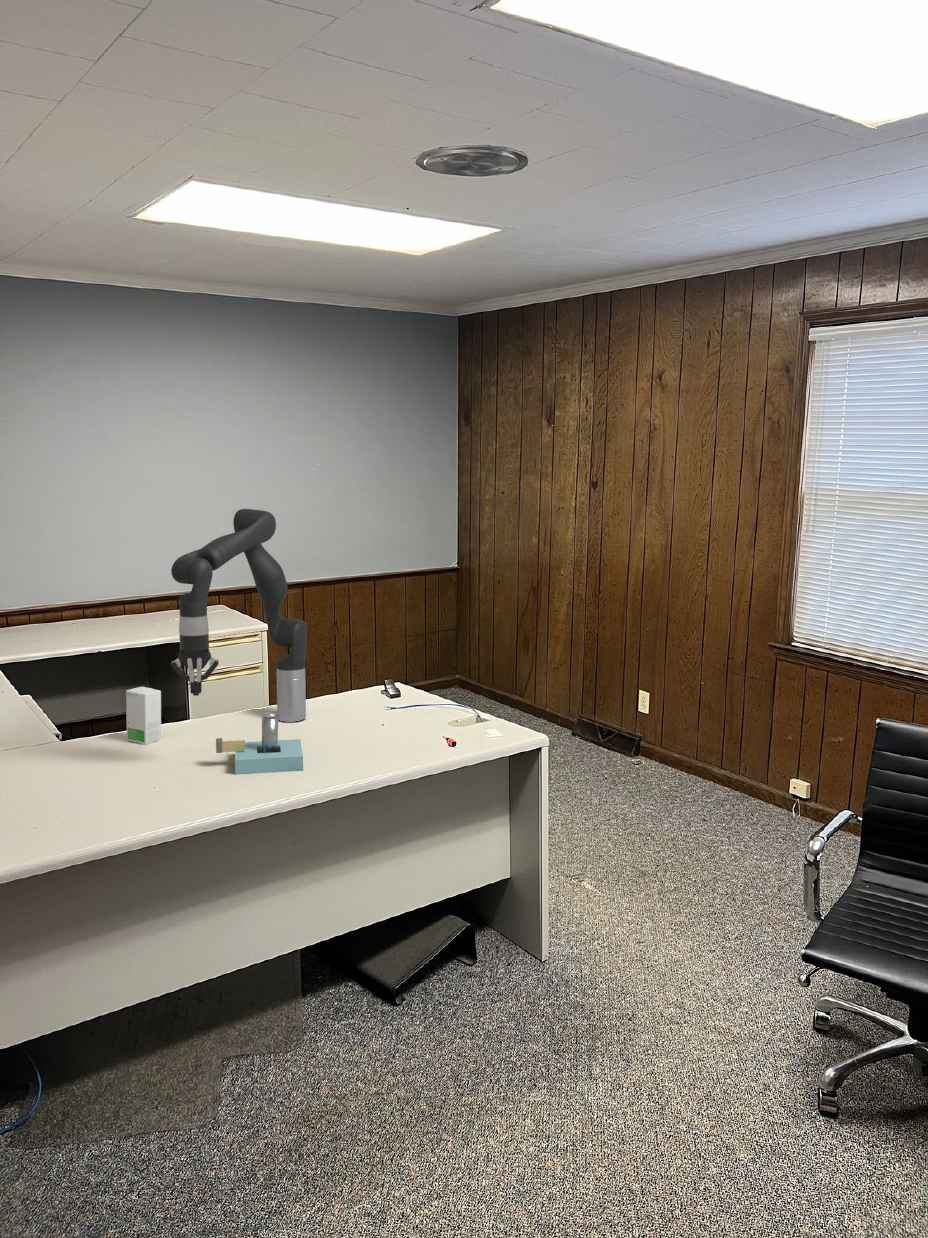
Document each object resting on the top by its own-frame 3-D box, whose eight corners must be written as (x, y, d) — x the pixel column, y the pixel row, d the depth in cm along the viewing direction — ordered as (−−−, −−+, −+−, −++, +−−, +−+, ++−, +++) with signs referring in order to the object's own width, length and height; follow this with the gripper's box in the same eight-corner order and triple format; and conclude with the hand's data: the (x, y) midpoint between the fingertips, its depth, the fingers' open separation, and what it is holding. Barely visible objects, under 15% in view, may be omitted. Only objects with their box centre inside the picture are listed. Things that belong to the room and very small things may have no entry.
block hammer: (216, 749, 251) (216, 738, 250) (244, 748, 253) (244, 737, 252) (216, 753, 248) (215, 741, 247) (244, 751, 249) (244, 740, 249)
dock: (236, 755, 259) (236, 742, 258) (300, 752, 263) (300, 739, 262) (235, 774, 243) (235, 760, 243) (303, 770, 248) (303, 756, 247)
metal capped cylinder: (261, 757, 255) (262, 711, 253) (277, 756, 256) (278, 711, 254) (261, 761, 251) (261, 715, 249) (277, 761, 251) (278, 715, 249)
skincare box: (126, 741, 271) (123, 690, 268) (143, 735, 277) (141, 685, 274) (146, 745, 267) (144, 694, 265) (163, 739, 273) (161, 689, 270)
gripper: (220, 629, 248) (221, 690, 251) (169, 630, 245) (171, 692, 248) (219, 634, 241) (220, 697, 243) (166, 635, 238) (169, 699, 240)
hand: (196, 694), depth 246 cm, fingers closed
